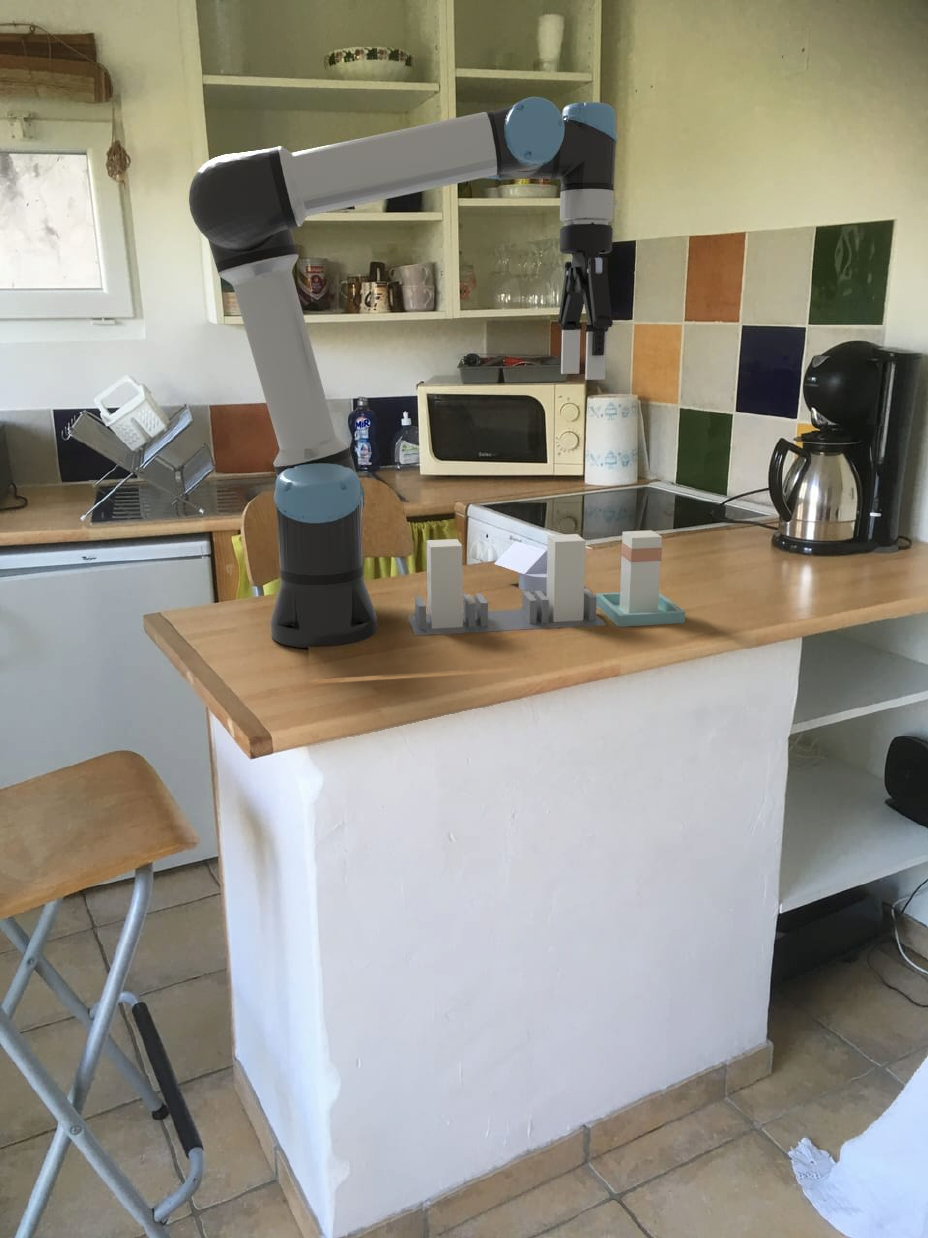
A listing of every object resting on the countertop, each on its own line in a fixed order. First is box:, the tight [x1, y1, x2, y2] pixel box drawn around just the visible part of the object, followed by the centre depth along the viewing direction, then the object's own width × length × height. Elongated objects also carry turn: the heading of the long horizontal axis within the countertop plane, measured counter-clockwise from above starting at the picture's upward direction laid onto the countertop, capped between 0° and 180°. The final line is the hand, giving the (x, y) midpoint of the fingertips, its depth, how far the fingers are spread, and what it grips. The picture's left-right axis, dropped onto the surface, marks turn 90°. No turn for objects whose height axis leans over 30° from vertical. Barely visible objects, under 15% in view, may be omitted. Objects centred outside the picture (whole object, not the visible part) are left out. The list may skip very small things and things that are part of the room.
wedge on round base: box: [493, 540, 547, 595], centre depth 169 cm, size 9×7×13 cm
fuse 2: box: [545, 533, 587, 622], centre depth 150 cm, size 4×4×12 cm
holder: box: [407, 587, 607, 637], centre depth 150 cm, size 28×10×4 cm, turn 99°
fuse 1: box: [426, 538, 464, 629], centre depth 147 cm, size 4×4×12 cm
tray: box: [594, 591, 686, 628], centre depth 153 cm, size 10×12×2 cm
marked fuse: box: [619, 530, 663, 614], centre depth 152 cm, size 5×5×12 cm
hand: (582, 376), depth 152 cm, fingers open, 13 cm apart
